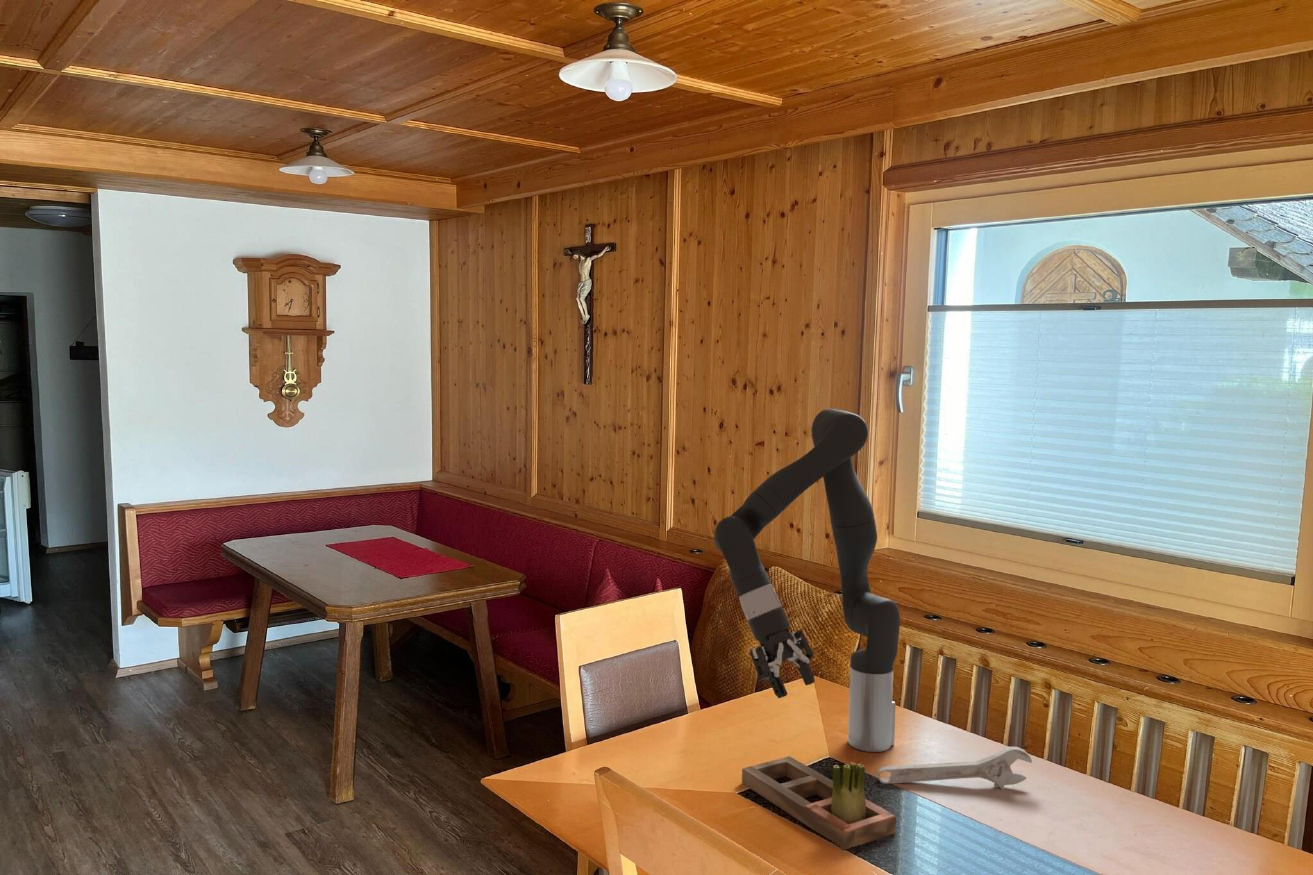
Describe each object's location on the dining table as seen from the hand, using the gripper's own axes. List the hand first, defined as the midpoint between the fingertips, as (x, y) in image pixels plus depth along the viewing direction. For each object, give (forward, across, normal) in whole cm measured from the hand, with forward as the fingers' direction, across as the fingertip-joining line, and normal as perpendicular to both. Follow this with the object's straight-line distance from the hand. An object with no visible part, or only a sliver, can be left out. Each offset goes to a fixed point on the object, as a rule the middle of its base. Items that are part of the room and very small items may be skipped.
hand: (797, 690), depth 184 cm
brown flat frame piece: (+21, -4, +4) cm, 21 cm away
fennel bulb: (+25, -6, -4) cm, 26 cm away
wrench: (+29, +24, -6) cm, 38 cm away
